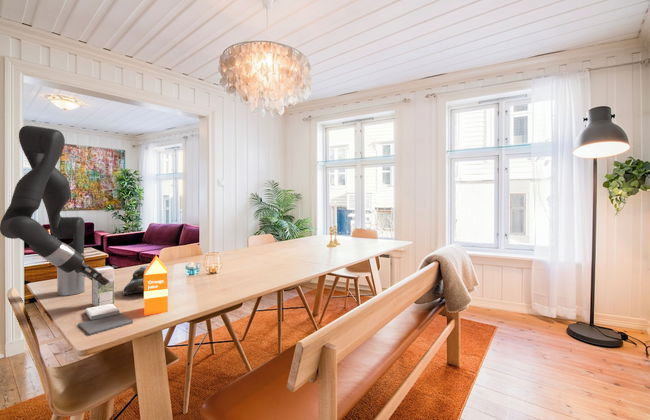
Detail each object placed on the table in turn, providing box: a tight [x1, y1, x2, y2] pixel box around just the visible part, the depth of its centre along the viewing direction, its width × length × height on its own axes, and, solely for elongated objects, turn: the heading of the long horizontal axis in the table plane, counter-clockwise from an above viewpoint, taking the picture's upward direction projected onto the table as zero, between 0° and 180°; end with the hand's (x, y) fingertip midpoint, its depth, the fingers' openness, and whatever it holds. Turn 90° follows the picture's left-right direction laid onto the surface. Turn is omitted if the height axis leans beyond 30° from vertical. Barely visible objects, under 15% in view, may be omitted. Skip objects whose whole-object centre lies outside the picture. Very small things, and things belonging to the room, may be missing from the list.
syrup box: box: [91, 265, 115, 307], centre depth 120 cm, size 6×6×14 cm
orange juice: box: [143, 255, 169, 316], centre depth 114 cm, size 8×9×20 cm
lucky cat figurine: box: [121, 265, 149, 296], centre depth 135 cm, size 15×12×14 cm
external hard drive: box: [85, 303, 121, 320], centre depth 109 cm, size 2×8×12 cm
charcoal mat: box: [77, 312, 134, 336], centre depth 101 cm, size 12×12×1 cm
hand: (101, 281), depth 119 cm, fingers open, 8 cm apart
